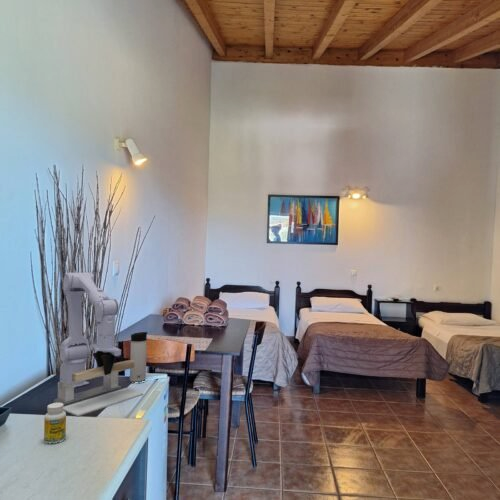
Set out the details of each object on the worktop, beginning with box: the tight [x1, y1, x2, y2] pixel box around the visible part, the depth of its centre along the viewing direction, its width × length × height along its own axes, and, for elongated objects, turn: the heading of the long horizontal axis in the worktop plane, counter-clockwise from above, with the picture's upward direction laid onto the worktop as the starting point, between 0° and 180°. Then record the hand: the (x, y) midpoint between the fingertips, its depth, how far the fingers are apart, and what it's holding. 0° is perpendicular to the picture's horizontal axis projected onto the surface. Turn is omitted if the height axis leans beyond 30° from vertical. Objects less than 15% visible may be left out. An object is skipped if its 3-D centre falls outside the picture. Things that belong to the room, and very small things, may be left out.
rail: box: [72, 359, 134, 383], centre depth 141 cm, size 2×23×2 cm, turn 145°
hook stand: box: [53, 372, 122, 406], centre depth 146 cm, size 6×23×7 cm, turn 145°
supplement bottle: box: [43, 402, 67, 445], centre depth 111 cm, size 5×5×10 cm
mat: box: [63, 387, 144, 417], centre depth 141 cm, size 10×26×1 cm, turn 145°
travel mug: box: [129, 331, 148, 384], centre depth 164 cm, size 6×7×20 cm
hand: (105, 373), depth 141 cm, fingers closed on rail, 2 cm apart
